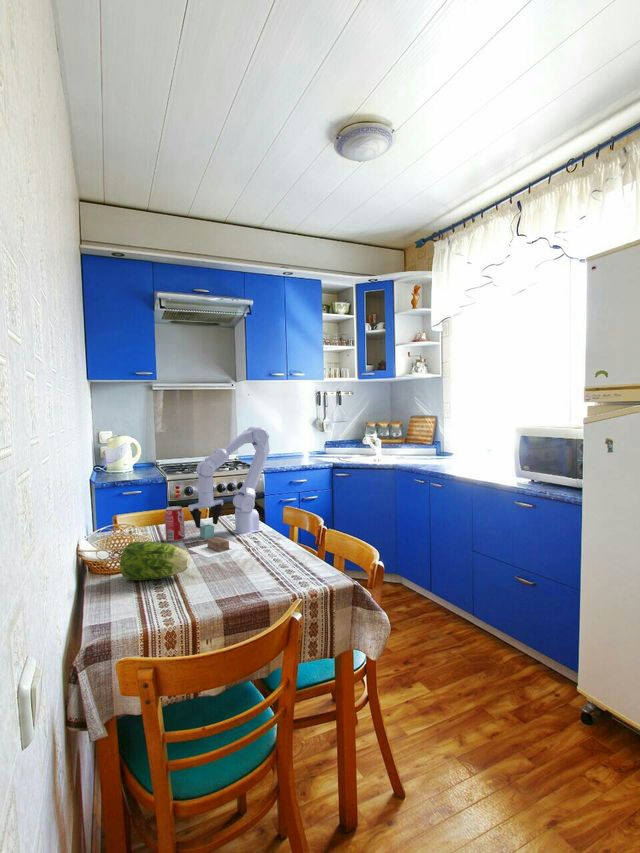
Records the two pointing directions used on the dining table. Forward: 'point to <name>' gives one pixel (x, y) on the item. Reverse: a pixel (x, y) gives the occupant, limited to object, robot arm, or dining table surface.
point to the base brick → (218, 544)
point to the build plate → (210, 552)
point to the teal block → (206, 531)
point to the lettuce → (152, 560)
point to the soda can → (174, 524)
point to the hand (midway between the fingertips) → (206, 525)
